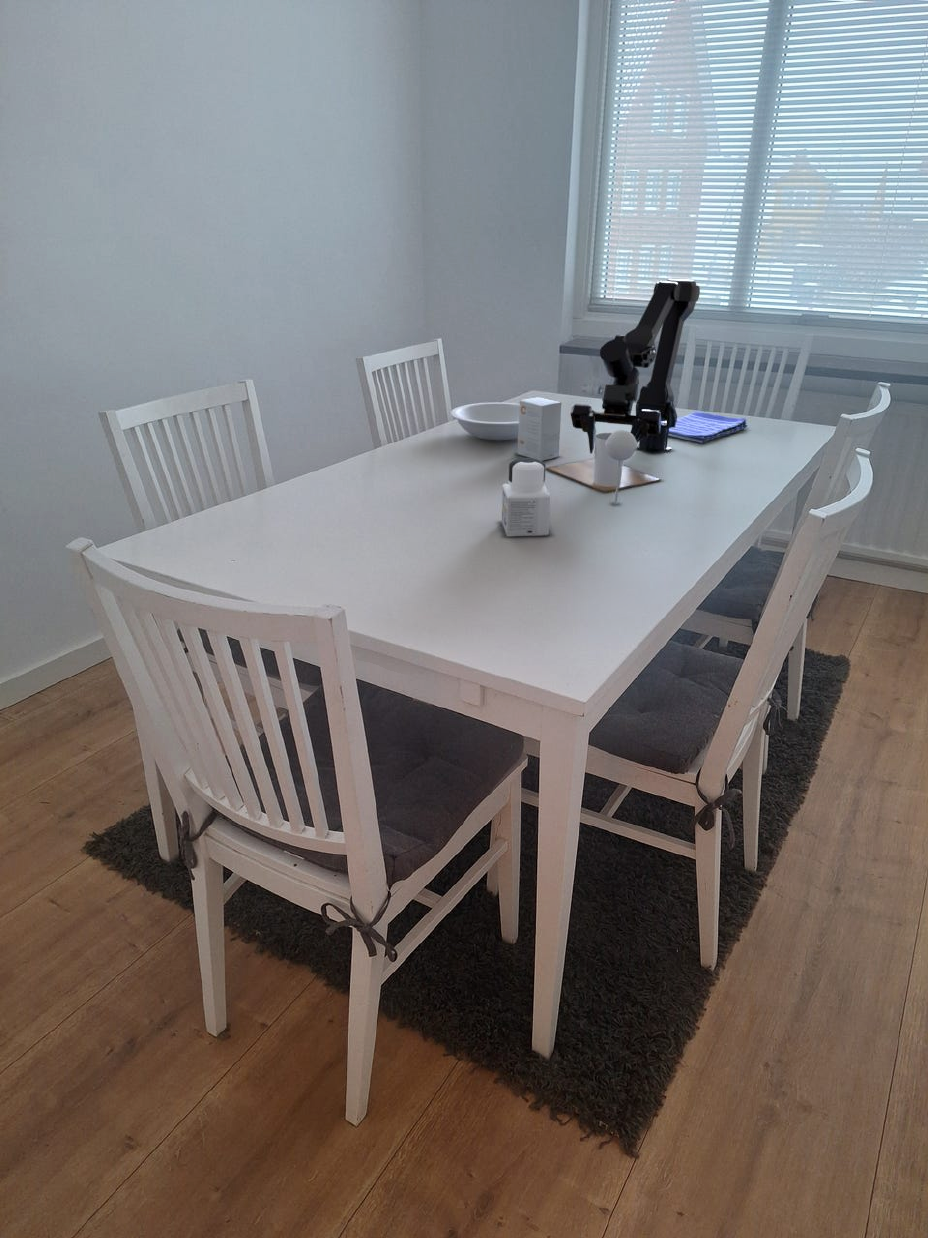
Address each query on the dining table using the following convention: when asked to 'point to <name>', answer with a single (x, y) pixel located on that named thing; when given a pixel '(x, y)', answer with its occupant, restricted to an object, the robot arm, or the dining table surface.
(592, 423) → the robot arm
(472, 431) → the soup bowl
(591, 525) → the dining table surface
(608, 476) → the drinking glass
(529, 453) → the small box
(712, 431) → the dish towel
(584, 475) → the glossy brown placemat
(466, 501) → the dining table surface
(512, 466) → the container
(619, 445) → the lollipop
